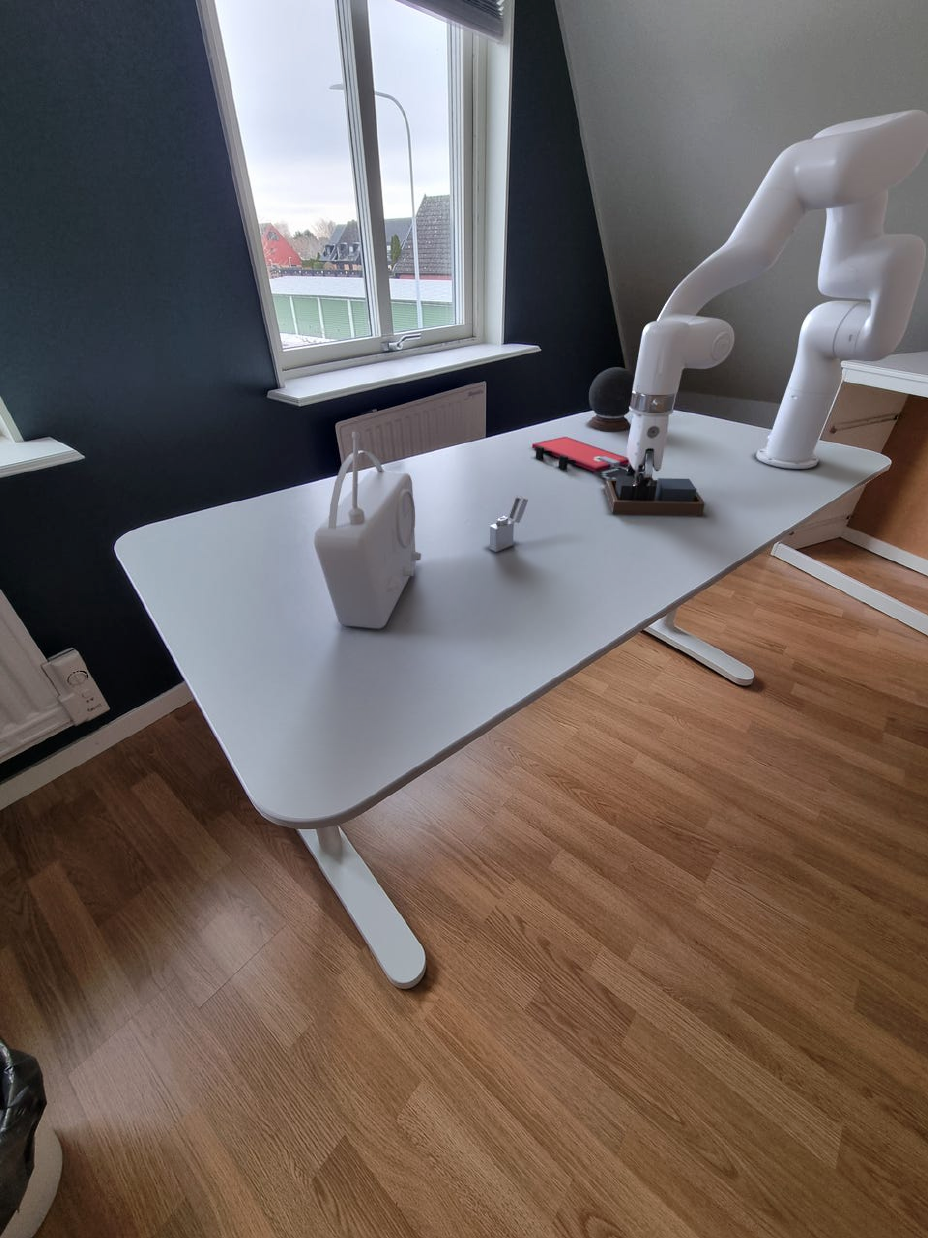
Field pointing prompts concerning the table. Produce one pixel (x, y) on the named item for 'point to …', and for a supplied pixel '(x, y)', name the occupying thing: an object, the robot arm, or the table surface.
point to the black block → (625, 486)
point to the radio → (368, 543)
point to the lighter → (506, 526)
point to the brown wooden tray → (652, 504)
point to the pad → (675, 490)
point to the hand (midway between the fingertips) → (633, 497)
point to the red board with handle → (583, 456)
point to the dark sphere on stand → (611, 399)
